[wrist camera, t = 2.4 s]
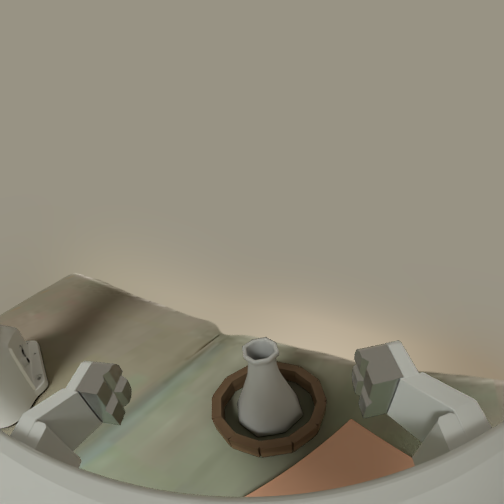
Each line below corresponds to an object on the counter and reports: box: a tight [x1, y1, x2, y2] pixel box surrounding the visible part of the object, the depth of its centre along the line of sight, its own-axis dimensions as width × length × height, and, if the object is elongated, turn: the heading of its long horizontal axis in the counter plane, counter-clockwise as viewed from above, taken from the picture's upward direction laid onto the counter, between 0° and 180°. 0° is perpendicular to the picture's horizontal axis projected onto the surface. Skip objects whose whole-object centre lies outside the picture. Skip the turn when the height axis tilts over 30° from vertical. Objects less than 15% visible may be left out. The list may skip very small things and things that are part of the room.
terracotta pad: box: [245, 419, 415, 497], centre depth 16 cm, size 11×14×1 cm
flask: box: [237, 337, 303, 437], centre depth 25 cm, size 7×7×10 cm
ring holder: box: [212, 362, 327, 457], centre depth 27 cm, size 12×12×2 cm
